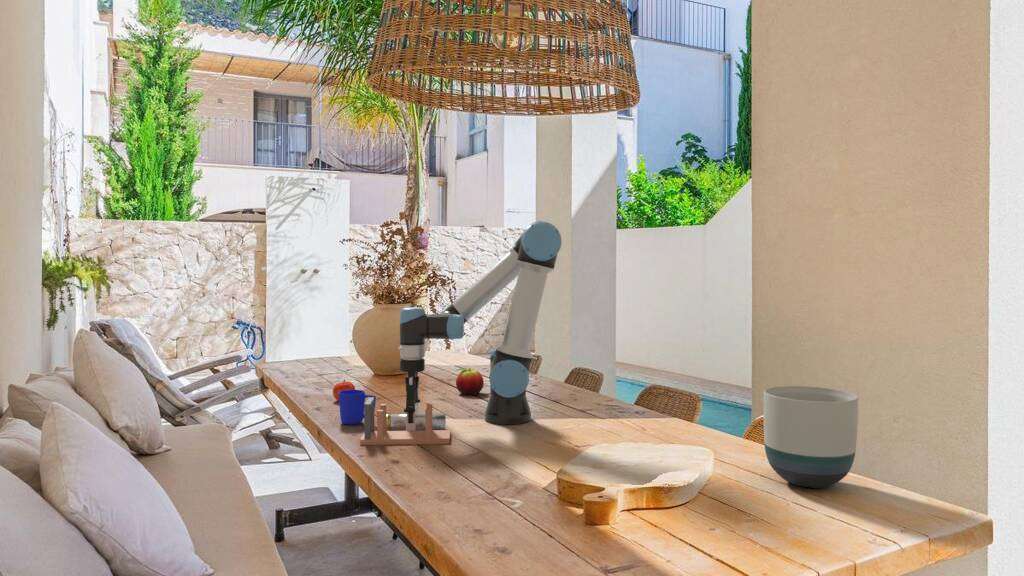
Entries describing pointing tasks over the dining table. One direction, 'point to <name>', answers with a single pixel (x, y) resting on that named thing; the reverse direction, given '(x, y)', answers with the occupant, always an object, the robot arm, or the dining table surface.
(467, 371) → the fruit
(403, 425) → the tube
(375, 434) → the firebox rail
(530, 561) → the dining table surface
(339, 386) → the apple
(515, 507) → the dining table surface
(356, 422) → the mug
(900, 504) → the dining table surface
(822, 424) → the planter
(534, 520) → the dining table surface
